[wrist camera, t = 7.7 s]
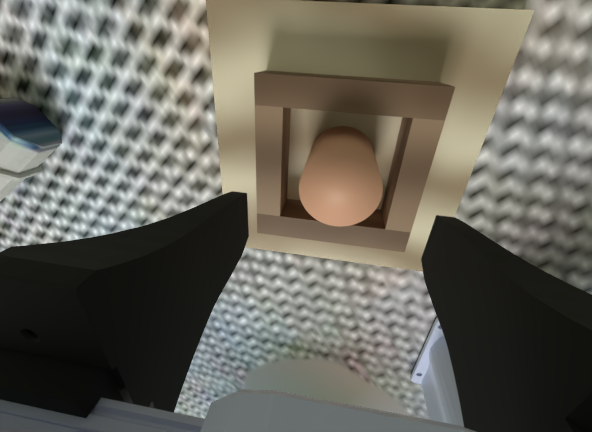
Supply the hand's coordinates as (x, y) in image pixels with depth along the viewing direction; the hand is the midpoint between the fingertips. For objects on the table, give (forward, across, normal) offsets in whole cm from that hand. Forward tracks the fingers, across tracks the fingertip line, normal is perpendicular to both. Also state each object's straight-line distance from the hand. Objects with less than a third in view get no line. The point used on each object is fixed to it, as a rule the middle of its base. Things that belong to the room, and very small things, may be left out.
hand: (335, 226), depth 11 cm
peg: (+8, 0, 0) cm, 8 cm away
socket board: (+9, 0, 0) cm, 9 cm away
